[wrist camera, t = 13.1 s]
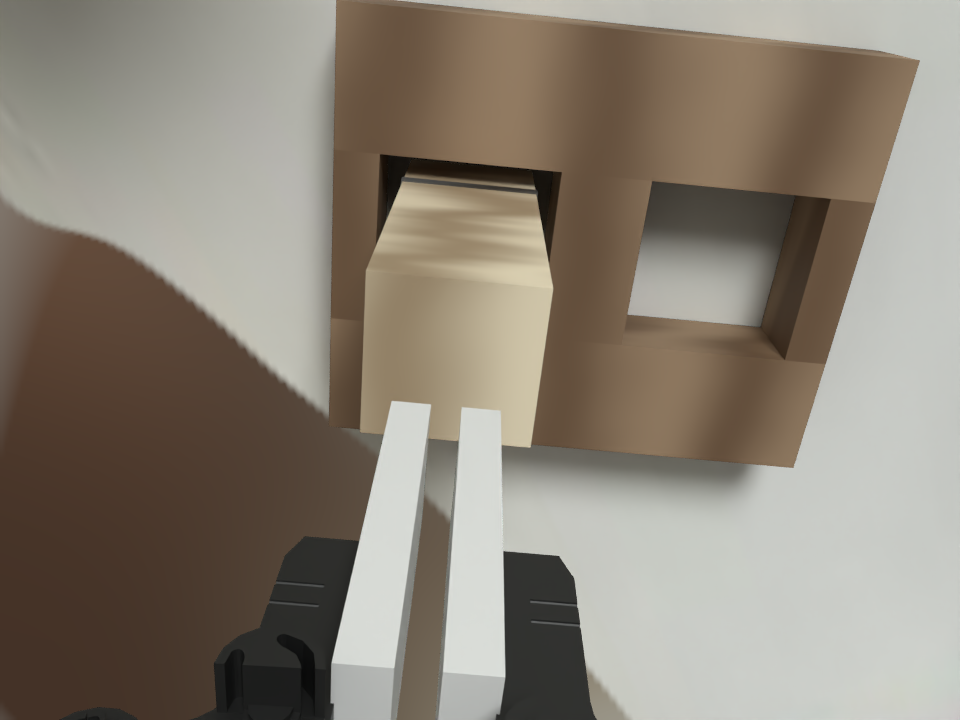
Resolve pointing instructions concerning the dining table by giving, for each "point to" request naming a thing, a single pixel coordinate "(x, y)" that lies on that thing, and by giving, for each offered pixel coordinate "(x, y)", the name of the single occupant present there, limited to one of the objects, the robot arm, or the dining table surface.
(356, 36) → the walnut board
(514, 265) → the beech peg
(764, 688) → the dining table surface
